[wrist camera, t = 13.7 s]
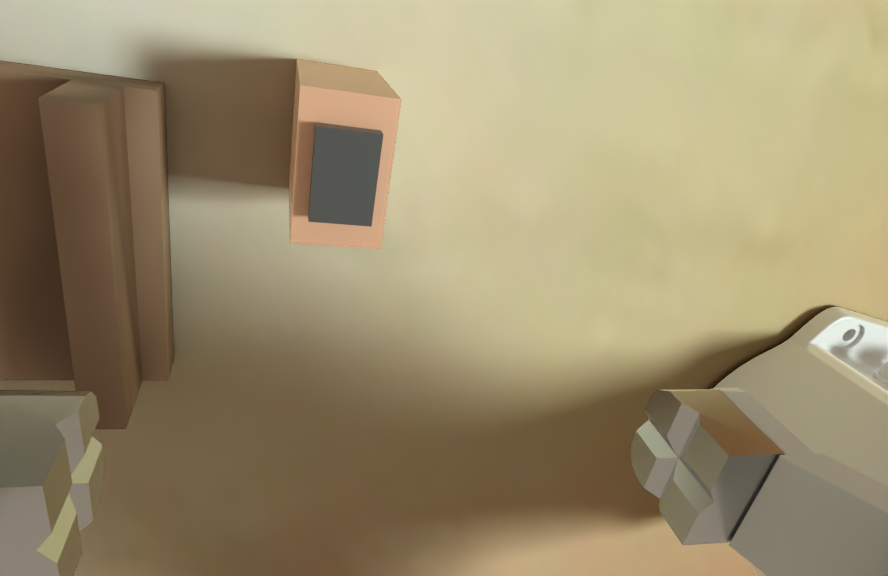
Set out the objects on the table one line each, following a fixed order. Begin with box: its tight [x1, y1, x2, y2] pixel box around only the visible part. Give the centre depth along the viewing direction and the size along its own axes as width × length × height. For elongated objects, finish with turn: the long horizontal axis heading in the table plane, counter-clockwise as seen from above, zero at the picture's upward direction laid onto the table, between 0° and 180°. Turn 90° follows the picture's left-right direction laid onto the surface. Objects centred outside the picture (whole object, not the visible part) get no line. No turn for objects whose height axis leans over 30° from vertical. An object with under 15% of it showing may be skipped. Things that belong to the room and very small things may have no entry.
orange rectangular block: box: [289, 59, 401, 249], centre depth 20 cm, size 3×5×6 cm, turn 170°
